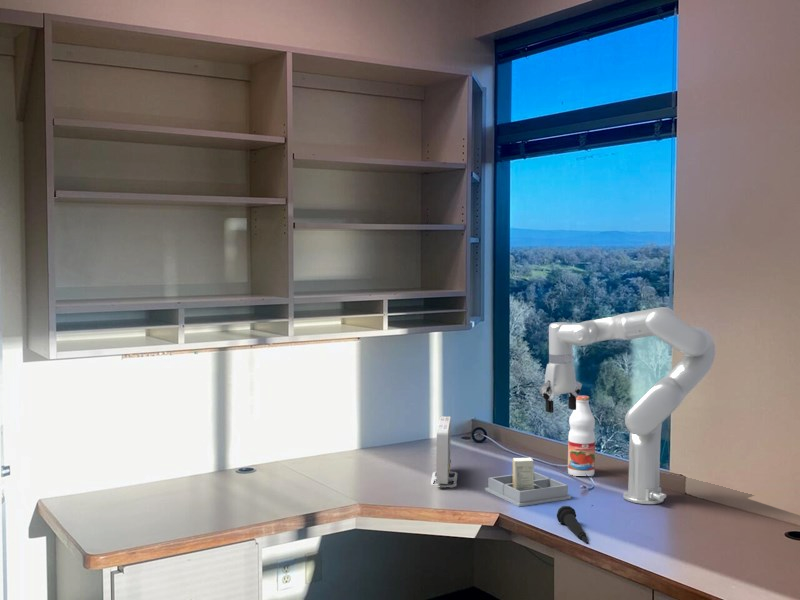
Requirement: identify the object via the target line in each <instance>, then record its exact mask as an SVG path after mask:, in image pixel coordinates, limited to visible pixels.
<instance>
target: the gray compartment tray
mask: <svg viewBox="0 0 800 600" xmlns="http://www.w3.org/2000/svg"><path fill="white" fill-rule="evenodd" d="M487 481H488V483H487V484H488V485H487V487H484V490H485V492H488V493H490V494H492V495H494V496H495V497H498V498H500V499H502V500H504V501H506V502H507V503H511V504H512V505H514V506H515V507H526V506H533V505H541V504H546V503H552V502H558V501H565V500H567V501H568V500H571V499H572V496H571V495H569V493H568V492H569V491H568V489H569V486H568V484H566V483H563V482H560V481H558V480H557V479H554V478H551V477H548V476H546V475H543V474H541V473H539V472H536V471H534V489H532V490H525V491H519V490H517V489H515V488H513V474H508V475H506V474H505V475H500V476H492V477H488V479H487Z"/></svg>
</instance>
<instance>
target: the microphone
mask: <svg viewBox="0 0 800 600" xmlns="http://www.w3.org/2000/svg"><path fill="white" fill-rule="evenodd" d="M576 513H577V512H576V510H575V509H574V508H573V507H572V506H570V505H564V506H563V505H562V506H561V507H560V508H558V510H557V513H556V518H557V522H558V523H560V524H562V525H566V526H567V527H568V529H569V531H571V532H572V533H573V534H574V535H575V536H576V537H577V538H578V539H579V540H580V541H582V542H584V543H586V545H587V544H589V541H588V538H587V534H586V532H585V530H584V529H583V527H582V526H581V524H580V523H579V521H578V519H577V518H576V517H577V514H576Z"/></svg>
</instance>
